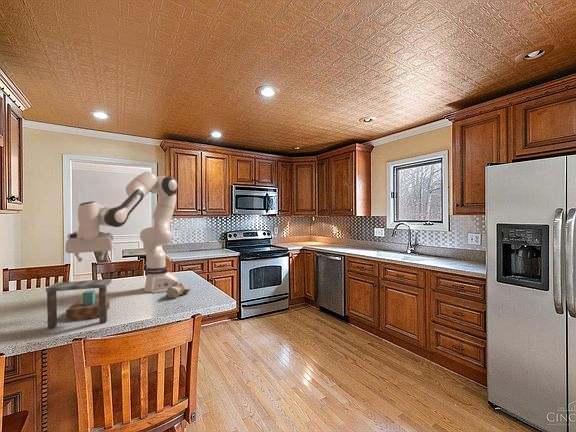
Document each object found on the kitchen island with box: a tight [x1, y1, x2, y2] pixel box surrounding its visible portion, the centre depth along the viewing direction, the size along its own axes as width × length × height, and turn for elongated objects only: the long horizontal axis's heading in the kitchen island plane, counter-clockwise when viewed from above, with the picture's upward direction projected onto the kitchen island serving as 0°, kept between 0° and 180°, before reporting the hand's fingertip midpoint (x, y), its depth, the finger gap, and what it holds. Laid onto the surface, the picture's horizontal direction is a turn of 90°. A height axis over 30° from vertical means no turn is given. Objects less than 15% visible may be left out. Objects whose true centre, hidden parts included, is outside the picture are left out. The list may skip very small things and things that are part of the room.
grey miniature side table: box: [45, 278, 112, 329], centre depth 137 cm, size 22×22×18 cm
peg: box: [82, 289, 96, 306], centre depth 141 cm, size 4×4×11 cm
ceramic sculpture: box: [165, 282, 191, 299], centre depth 170 cm, size 11×9×15 cm
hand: (90, 260), depth 148 cm, fingers open, 8 cm apart
